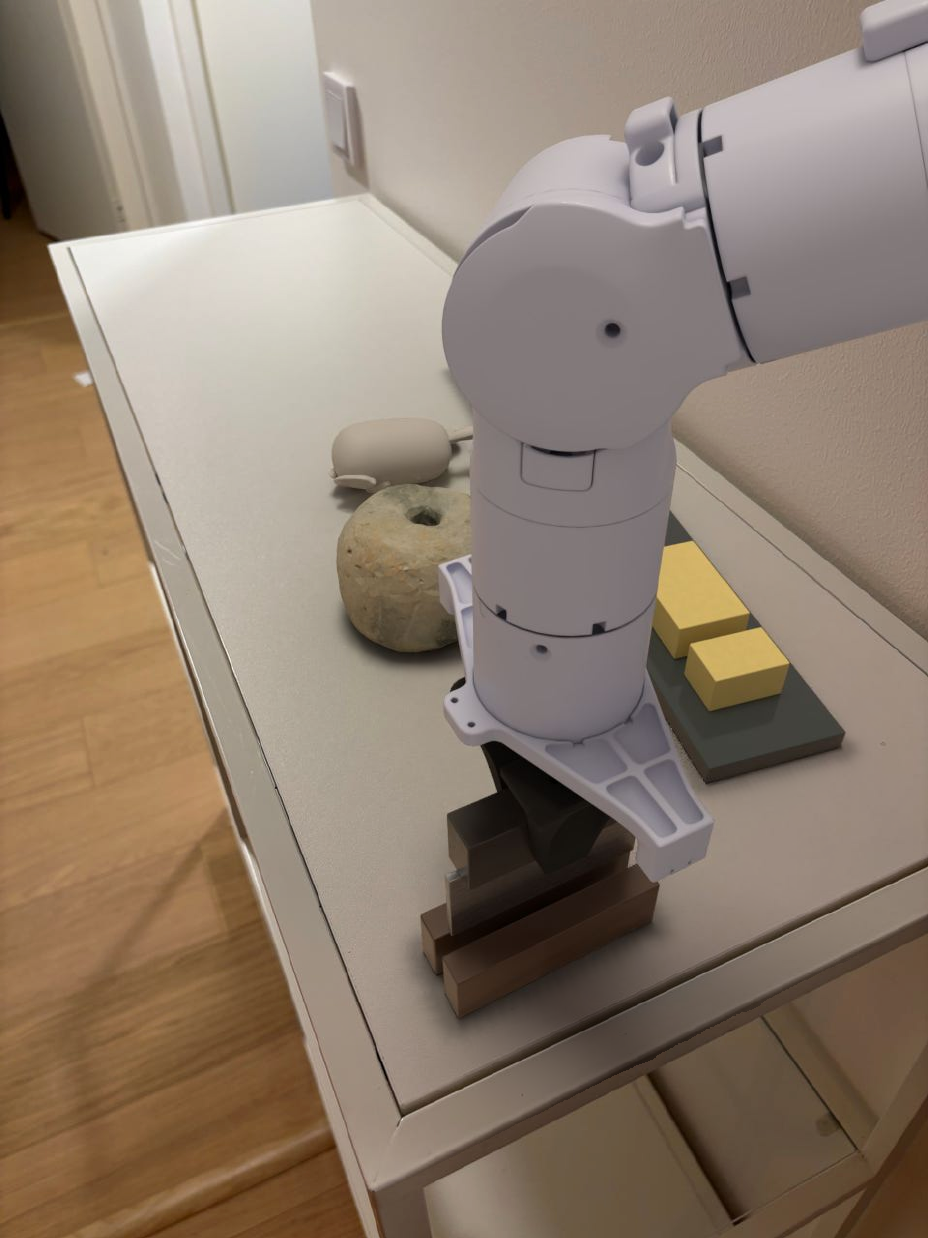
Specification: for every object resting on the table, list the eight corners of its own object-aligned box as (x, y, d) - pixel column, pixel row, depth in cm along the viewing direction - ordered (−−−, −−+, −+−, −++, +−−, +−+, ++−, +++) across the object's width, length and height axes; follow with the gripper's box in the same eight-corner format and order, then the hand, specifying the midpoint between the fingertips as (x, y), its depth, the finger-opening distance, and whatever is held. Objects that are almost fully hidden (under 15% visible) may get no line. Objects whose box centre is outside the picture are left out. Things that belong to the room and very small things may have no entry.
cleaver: (643, 862, 42) (661, 763, 38) (459, 951, 40) (455, 855, 35) (619, 831, 44) (635, 732, 39) (439, 915, 41) (433, 818, 36)
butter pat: (781, 693, 53) (790, 662, 52) (708, 712, 52) (715, 681, 51) (753, 657, 56) (761, 626, 54) (683, 674, 55) (689, 643, 53)
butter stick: (743, 643, 56) (750, 612, 55) (673, 659, 55) (679, 629, 54) (687, 570, 61) (693, 539, 60) (623, 584, 60) (627, 553, 59)
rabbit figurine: (347, 484, 65) (508, 467, 69) (332, 411, 65) (492, 399, 70) (326, 511, 70) (475, 494, 75) (311, 444, 71) (461, 431, 76)
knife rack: (652, 920, 45) (660, 884, 43) (458, 1019, 41) (457, 985, 39) (609, 861, 47) (614, 824, 45) (422, 949, 44) (419, 914, 42)
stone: (503, 646, 53) (376, 511, 50) (392, 702, 60) (276, 586, 57) (564, 541, 59) (455, 418, 57) (458, 603, 66) (357, 495, 64)
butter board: (841, 747, 52) (846, 732, 51) (705, 783, 50) (709, 768, 50) (540, 358, 85) (541, 346, 84) (452, 373, 83) (452, 360, 82)
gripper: (353, 491, 33) (383, 748, 43) (579, 791, 24) (554, 1040, 33) (532, 437, 36) (523, 692, 45) (803, 692, 26) (722, 950, 35)
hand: (547, 835), depth 39 cm, fingers closed on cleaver, 2 cm apart
